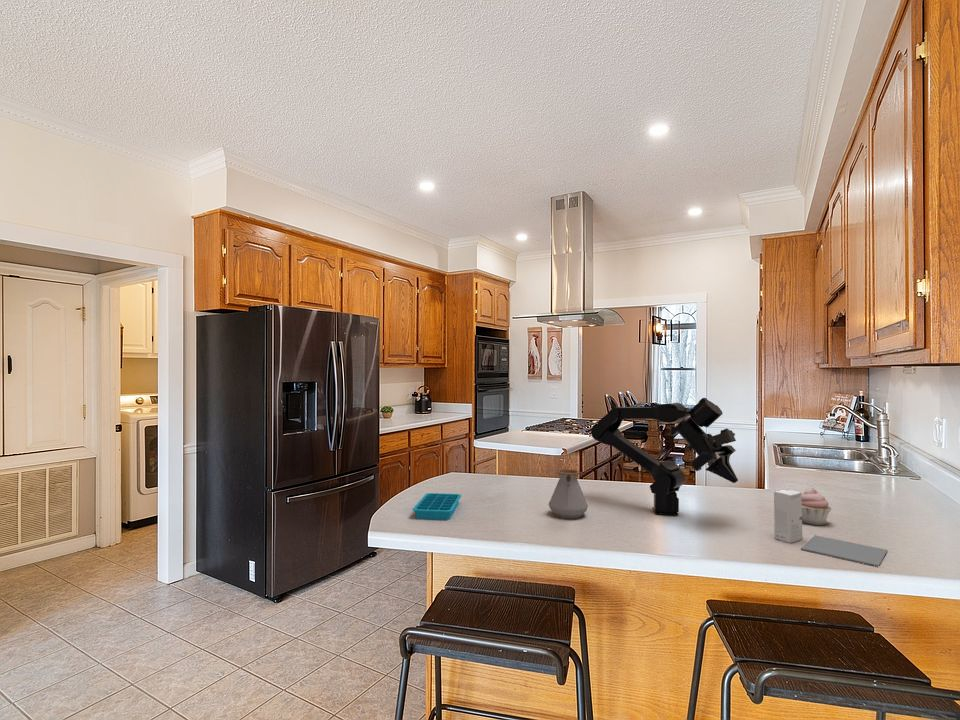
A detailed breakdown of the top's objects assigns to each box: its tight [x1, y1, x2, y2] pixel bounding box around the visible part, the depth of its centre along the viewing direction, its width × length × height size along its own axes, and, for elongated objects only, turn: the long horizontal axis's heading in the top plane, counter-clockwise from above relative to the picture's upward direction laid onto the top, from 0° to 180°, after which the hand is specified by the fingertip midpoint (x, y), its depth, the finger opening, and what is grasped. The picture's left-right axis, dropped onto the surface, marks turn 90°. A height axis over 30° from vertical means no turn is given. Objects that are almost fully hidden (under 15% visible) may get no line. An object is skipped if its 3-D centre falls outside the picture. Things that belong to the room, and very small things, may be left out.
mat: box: [800, 534, 888, 567], centre depth 125 cm, size 15×14×1 cm
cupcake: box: [801, 487, 833, 526], centre depth 148 cm, size 9×9×10 cm
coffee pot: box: [548, 469, 589, 519], centre depth 149 cm, size 21×12×15 cm, turn 170°
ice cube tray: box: [412, 492, 462, 521], centre depth 157 cm, size 12×20×3 cm, turn 174°
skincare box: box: [773, 489, 803, 544], centre depth 133 cm, size 6×4×12 cm
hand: (736, 481), depth 142 cm, fingers closed
